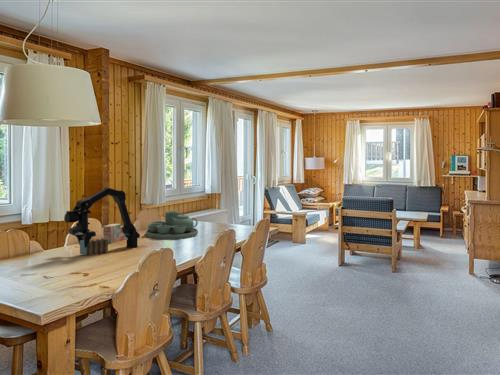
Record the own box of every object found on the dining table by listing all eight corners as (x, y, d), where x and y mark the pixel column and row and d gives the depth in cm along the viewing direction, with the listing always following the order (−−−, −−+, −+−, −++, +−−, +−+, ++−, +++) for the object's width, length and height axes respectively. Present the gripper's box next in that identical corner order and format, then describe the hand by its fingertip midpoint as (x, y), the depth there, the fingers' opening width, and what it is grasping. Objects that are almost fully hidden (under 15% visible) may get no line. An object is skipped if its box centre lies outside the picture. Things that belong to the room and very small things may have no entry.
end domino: (82, 253, 263) (82, 240, 262) (86, 254, 260) (86, 241, 259) (79, 253, 262) (79, 240, 261) (84, 254, 259) (84, 241, 258)
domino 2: (93, 252, 269) (93, 239, 268) (97, 253, 265) (97, 241, 265) (90, 253, 267) (90, 240, 267) (95, 254, 264) (95, 241, 264)
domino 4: (103, 250, 274) (103, 238, 274) (107, 252, 271) (107, 239, 271) (101, 251, 273) (101, 238, 272) (105, 252, 270) (105, 239, 269)
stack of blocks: (121, 238, 319) (121, 221, 318) (128, 238, 317) (128, 222, 316) (103, 243, 299) (103, 225, 298) (110, 244, 297) (110, 226, 296)
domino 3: (98, 251, 271) (98, 239, 271) (102, 252, 268) (102, 240, 268) (96, 252, 270) (95, 239, 270) (100, 253, 267) (100, 240, 266)
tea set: (136, 234, 338) (136, 213, 337) (179, 229, 365) (179, 209, 364) (163, 241, 309) (163, 219, 308) (208, 235, 336) (208, 214, 335)
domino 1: (87, 253, 266) (87, 240, 265) (92, 254, 263) (92, 241, 262) (85, 254, 265) (85, 241, 264) (89, 255, 261) (89, 242, 261)
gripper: (62, 220, 259) (62, 246, 260) (78, 224, 247) (78, 251, 248) (79, 219, 268) (79, 243, 269) (96, 222, 256) (96, 248, 257)
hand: (83, 246), depth 261 cm, fingers closed on end domino, 5 cm apart
